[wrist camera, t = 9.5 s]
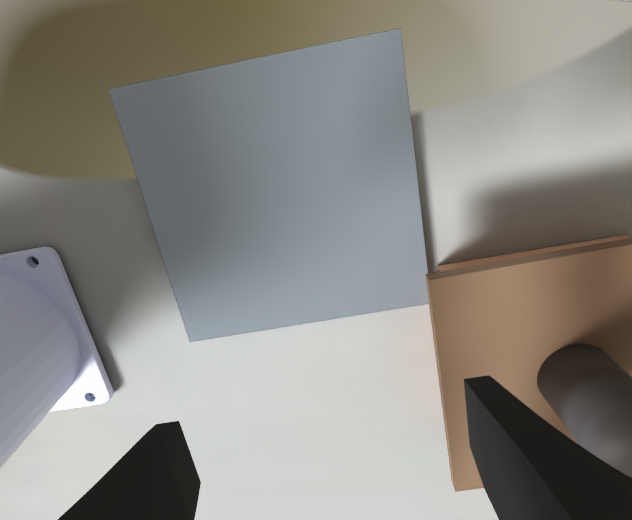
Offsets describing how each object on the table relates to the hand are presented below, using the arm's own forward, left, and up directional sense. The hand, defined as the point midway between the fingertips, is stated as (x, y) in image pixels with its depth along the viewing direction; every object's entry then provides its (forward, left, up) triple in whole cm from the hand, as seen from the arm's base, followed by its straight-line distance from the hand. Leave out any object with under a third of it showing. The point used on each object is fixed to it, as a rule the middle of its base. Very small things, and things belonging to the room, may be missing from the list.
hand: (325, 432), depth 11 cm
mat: (-1, +4, -9) cm, 10 cm away
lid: (+9, -4, -6) cm, 12 cm away
